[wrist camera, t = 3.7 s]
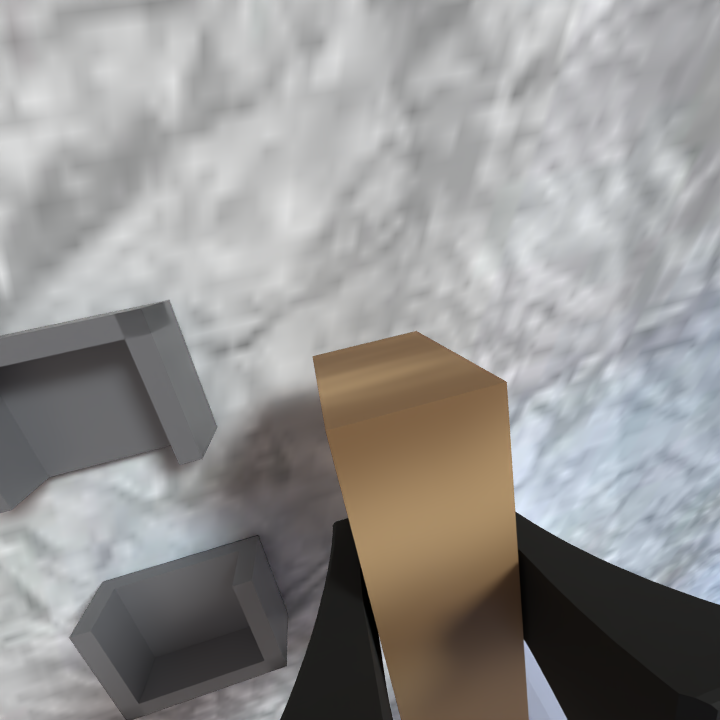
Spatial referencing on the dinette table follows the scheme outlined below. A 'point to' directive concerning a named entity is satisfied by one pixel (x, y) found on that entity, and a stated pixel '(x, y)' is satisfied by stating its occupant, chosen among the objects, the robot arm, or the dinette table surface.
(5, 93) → the dinette table surface
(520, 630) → the brown wooden block
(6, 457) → the end caps
